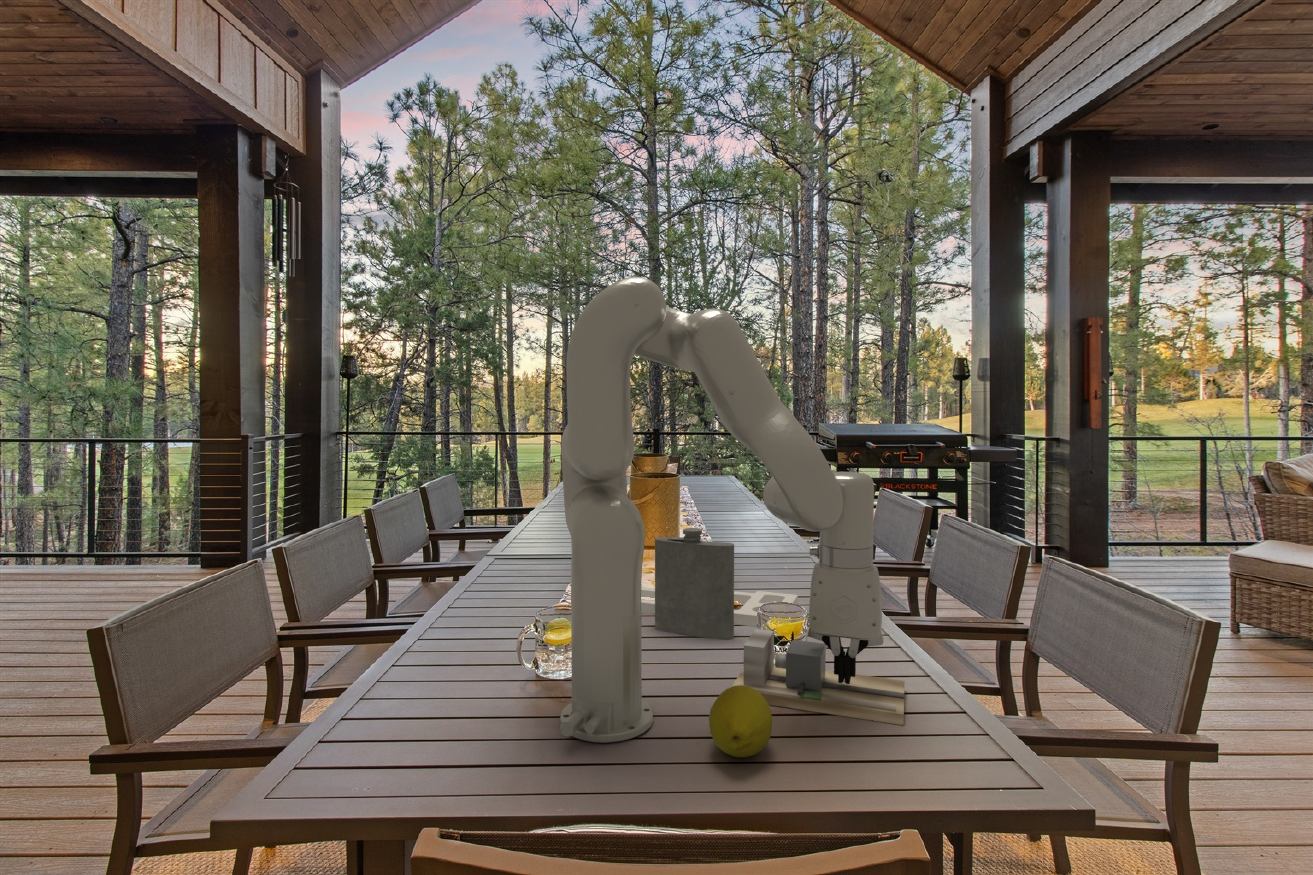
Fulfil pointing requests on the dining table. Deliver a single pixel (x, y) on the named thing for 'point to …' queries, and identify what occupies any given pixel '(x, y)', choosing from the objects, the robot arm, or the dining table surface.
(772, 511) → the robot arm
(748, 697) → the lemon
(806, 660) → the block
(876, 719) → the track board
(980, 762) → the dining table surface
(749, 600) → the holder
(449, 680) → the dining table surface
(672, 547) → the hip flask
